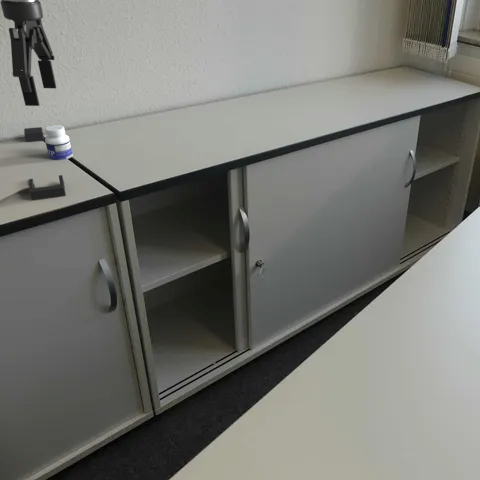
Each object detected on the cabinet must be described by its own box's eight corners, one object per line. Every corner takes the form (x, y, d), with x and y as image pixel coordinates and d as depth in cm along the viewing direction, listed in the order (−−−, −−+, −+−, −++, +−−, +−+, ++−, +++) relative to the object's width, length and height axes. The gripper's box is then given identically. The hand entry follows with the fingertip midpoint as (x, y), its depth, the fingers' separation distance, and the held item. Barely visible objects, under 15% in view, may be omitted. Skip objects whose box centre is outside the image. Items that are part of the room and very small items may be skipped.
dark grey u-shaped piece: (31, 187, 122) (29, 178, 121) (64, 182, 125) (62, 175, 124) (31, 200, 117) (29, 192, 116) (65, 195, 119) (63, 187, 118)
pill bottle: (47, 161, 134) (38, 126, 129) (69, 156, 137) (62, 122, 133) (55, 168, 131) (46, 133, 126) (77, 163, 134) (70, 129, 130)
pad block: (27, 143, 143) (24, 128, 140) (45, 141, 144) (41, 127, 142) (28, 148, 140) (24, 133, 138) (45, 146, 141) (42, 132, 139)
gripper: (19, 9, 107) (43, 113, 118) (55, -8, 128) (72, 82, 139) (-23, 7, 106) (5, 113, 117) (20, -10, 126) (40, 81, 137)
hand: (41, 96), depth 128 cm, fingers open, 13 cm apart
